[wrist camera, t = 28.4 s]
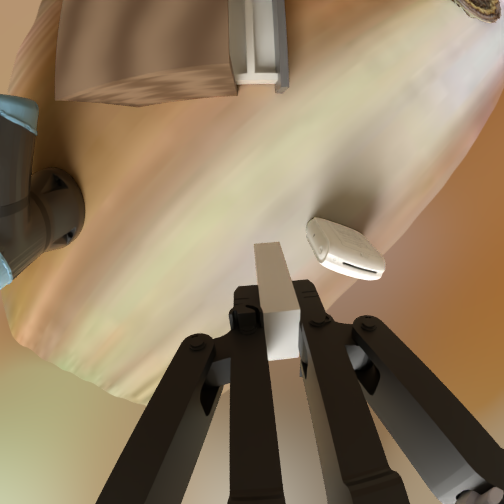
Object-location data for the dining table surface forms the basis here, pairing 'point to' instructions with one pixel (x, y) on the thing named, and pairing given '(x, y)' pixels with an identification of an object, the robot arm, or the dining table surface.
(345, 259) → the photo printer
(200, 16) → the cabinet
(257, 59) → the tray
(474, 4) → the pie
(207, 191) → the dining table surface
